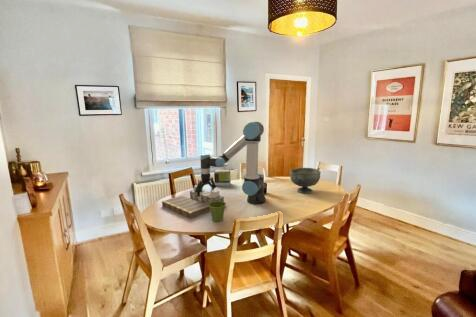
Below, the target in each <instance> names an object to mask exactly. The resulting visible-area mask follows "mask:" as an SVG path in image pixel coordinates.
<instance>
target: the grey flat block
mask: <svg viewBox="0 0 476 317" xmlns="http://www.w3.org/2000/svg"><path fill="white" fill-rule="evenodd" d="M161 206H162V208H164V209H168V210H170V211H172V212H175V213H177V214H179V215H181V216H183V217H185V218H188V219H190V220H191V219H194V218H196V217H198V216H201V215H204V214H207V213H209V212H211V211H210V208H209V206H208V205H207V204H204V203H201V202H199V201H196V200H193V199H190V197H189V198H188V197H186V196H184V195H178V196H176V197H173V198H168V199H166V200H164V199H163V200H162V201H161Z"/></svg>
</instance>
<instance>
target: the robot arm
mask: <svg viewBox="0 0 476 317" xmlns="http://www.w3.org/2000/svg"><path fill="white" fill-rule="evenodd" d="M264 131H265V128H264V125H263V124H262V123H261V122H259V121H251V122H248V123H246V124H245V125H244V126H243V129H242V134H243V135H242V136H241V137H240V138H239V139H237V141H235V142H234V143H233V144H232V145H230V147H228V149H226V150H225V151H224V152H223V153H221V154H220V155H218V156H214V157H213V156H211V155H210V154H209V153H202V154H200V158H199V159H200V178H201V179H200V180H197V184H196V185H197V188H196V190H195V192H197V195H198V200H200V201H201V193H200V192H201V190H203V188H204V187H205V185H208V186H209V187H210V191H212V190H216V188H217V186H216V185H215V180H214V177H212V176H211V167H213V168H224V166H225V164H227V163H228V162H229V161H230V160H231V159H232V158H233V157H235V155H237V154H238V153H239V152H240V151H241V150H243V149H244V148H245V147H246V156H245V157H246V162H245V163H246V167H245V173H246V174H245V175H244V176H243V183H242V185H241V190H242V191H243V193H244V194H245V195H246V196H247V199H246V201H247V203H249V204H252V205H261V204H265V203H266V202H267V199H266V195H265V191H264V190H265V185H264V184H265V182H264V180H265V177H264V174H263V173H258V171H259V168H258V167H259V165H258V164H259V143H260V142H261V140H262V135H263V134H264Z"/></svg>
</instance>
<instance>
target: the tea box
mask: <svg viewBox="0 0 476 317" xmlns="http://www.w3.org/2000/svg"><path fill="white" fill-rule="evenodd" d="M213 173H214V174H213V176H214V177H213V181H214V183H215V185H216V187H230V185H231V169H215V170H214V172H213Z"/></svg>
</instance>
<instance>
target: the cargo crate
mask: <svg viewBox="0 0 476 317" xmlns="http://www.w3.org/2000/svg"><path fill="white" fill-rule="evenodd" d="M209 192H210V195H211V197H214V198H216V197H219V195H220V190H218V189H214V190H212V191H211V190H210V191H209Z"/></svg>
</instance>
